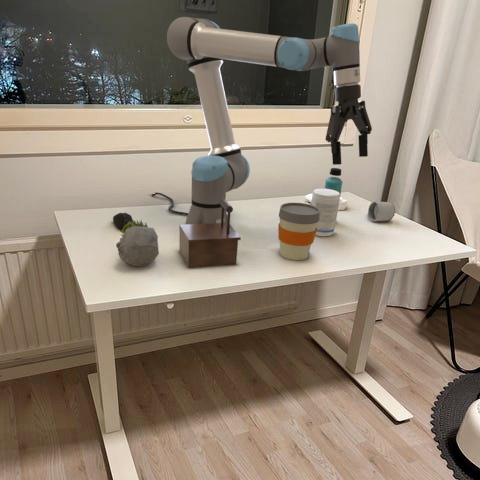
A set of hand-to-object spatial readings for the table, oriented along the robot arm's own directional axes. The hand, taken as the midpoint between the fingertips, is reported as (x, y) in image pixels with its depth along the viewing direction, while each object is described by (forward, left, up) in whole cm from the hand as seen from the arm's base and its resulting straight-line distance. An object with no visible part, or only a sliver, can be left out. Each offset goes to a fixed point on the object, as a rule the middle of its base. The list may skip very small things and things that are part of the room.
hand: (350, 160), depth 149 cm
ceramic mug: (-16, +34, -28) cm, 47 cm away
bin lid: (-3, -46, -20) cm, 51 cm away
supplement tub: (-11, +2, -28) cm, 30 cm away
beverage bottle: (-20, +12, -28) cm, 36 cm away
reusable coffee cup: (+3, -19, -28) cm, 34 cm away
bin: (-3, -47, -28) cm, 55 cm away
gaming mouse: (-37, -62, -28) cm, 78 cm away
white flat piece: (-39, +26, -28) cm, 54 cm away
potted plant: (-9, -68, -28) cm, 74 cm away
